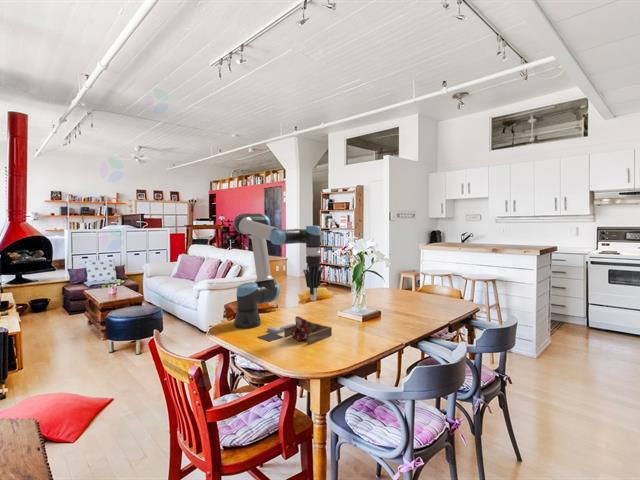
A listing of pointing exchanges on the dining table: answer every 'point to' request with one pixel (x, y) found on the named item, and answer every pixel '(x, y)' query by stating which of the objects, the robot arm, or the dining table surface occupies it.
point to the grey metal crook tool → (285, 327)
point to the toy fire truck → (301, 329)
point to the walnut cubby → (318, 334)
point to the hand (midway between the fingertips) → (313, 300)
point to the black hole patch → (269, 337)
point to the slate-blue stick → (274, 330)
